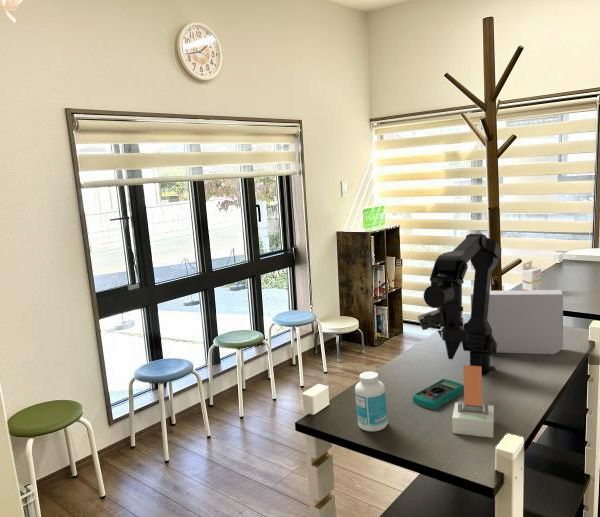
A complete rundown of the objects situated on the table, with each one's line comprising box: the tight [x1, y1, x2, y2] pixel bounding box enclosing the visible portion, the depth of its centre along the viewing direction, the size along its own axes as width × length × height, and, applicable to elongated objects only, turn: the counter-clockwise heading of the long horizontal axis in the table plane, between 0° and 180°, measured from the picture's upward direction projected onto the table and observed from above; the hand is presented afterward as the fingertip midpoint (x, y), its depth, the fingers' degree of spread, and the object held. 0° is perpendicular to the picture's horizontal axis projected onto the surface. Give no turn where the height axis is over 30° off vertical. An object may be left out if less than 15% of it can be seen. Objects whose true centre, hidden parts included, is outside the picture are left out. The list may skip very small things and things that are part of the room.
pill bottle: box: [354, 370, 389, 432], centre depth 126 cm, size 8×7×14 cm
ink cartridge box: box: [521, 260, 542, 291], centre depth 228 cm, size 9×5×15 cm, turn 130°
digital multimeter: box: [412, 378, 464, 410], centre depth 138 cm, size 7×15×3 cm, turn 129°
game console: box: [470, 289, 564, 355], centre depth 165 cm, size 6×27×20 cm, turn 71°
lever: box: [463, 364, 483, 412], centre depth 121 cm, size 2×4×11 cm, turn 68°
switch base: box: [451, 400, 495, 439], centre depth 121 cm, size 8×9×6 cm
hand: (450, 358), depth 136 cm, fingers closed
